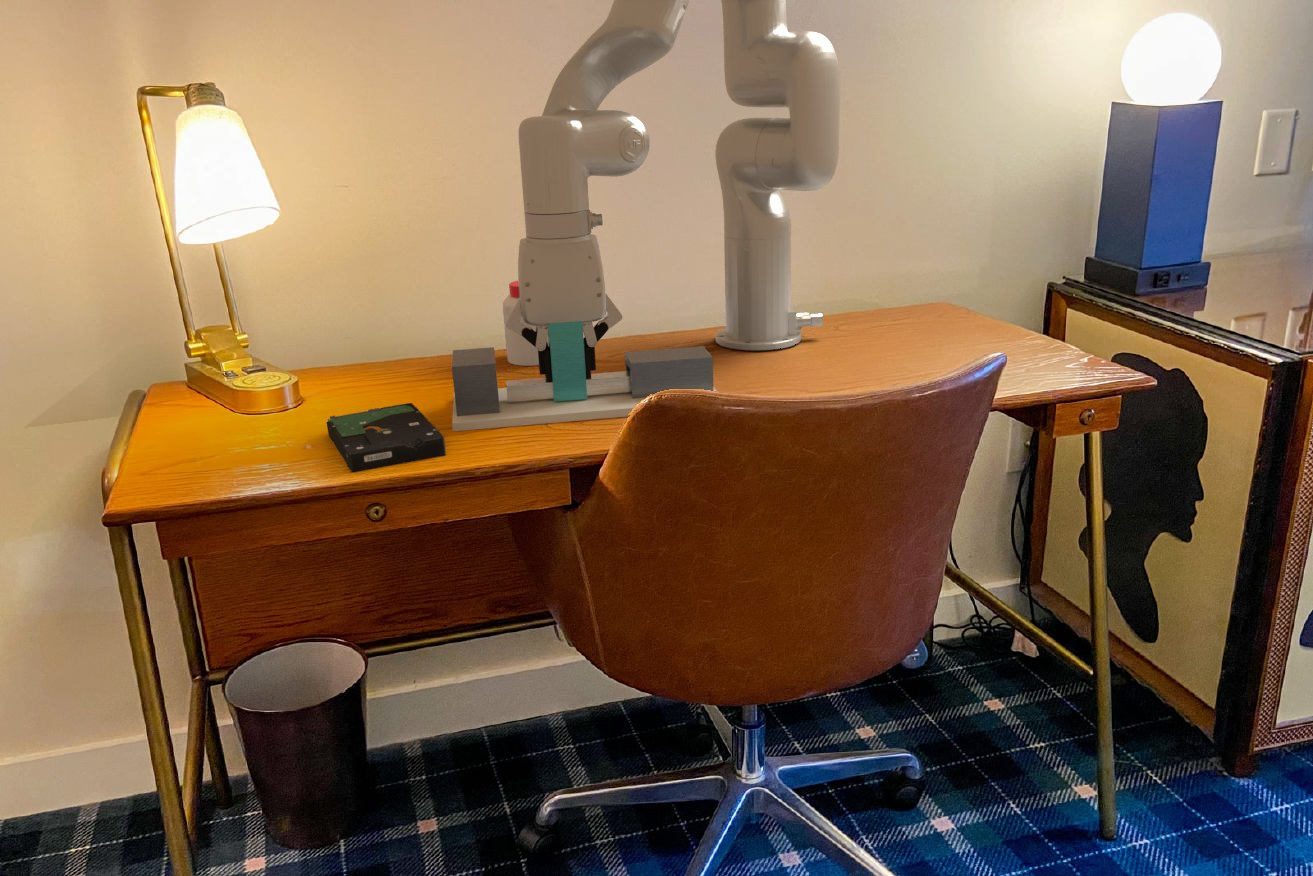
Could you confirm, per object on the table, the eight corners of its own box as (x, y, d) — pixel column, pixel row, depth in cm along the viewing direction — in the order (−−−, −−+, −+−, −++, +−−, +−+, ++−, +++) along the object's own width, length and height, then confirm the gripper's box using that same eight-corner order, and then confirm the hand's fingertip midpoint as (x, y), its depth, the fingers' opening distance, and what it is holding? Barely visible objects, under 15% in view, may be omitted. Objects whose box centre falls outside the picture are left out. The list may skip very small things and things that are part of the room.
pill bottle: (565, 351, 156) (560, 277, 152) (556, 365, 149) (550, 287, 145) (514, 352, 157) (507, 278, 153) (501, 366, 150) (494, 288, 146)
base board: (702, 379, 139) (702, 371, 139) (724, 408, 127) (724, 400, 127) (454, 399, 135) (454, 391, 135) (453, 431, 123) (452, 423, 122)
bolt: (674, 382, 134) (672, 304, 131) (680, 391, 130) (678, 310, 127) (507, 396, 131) (500, 316, 128) (508, 405, 127) (501, 323, 124)
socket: (498, 393, 133) (494, 347, 131) (499, 412, 126) (495, 363, 124) (457, 397, 132) (453, 350, 130) (456, 416, 125) (451, 366, 123)
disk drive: (449, 460, 116) (414, 422, 128) (446, 436, 115) (411, 400, 127) (352, 479, 111) (326, 437, 124) (349, 454, 110) (322, 415, 123)
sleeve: (704, 379, 136) (703, 346, 134) (713, 391, 130) (712, 357, 129) (626, 386, 134) (624, 352, 133) (632, 398, 129) (631, 363, 127)
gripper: (624, 218, 128) (631, 365, 134) (484, 226, 126) (498, 375, 132) (633, 226, 121) (640, 380, 127) (485, 235, 119) (499, 392, 125)
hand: (567, 376), depth 130 cm, fingers closed on bolt, 4 cm apart
